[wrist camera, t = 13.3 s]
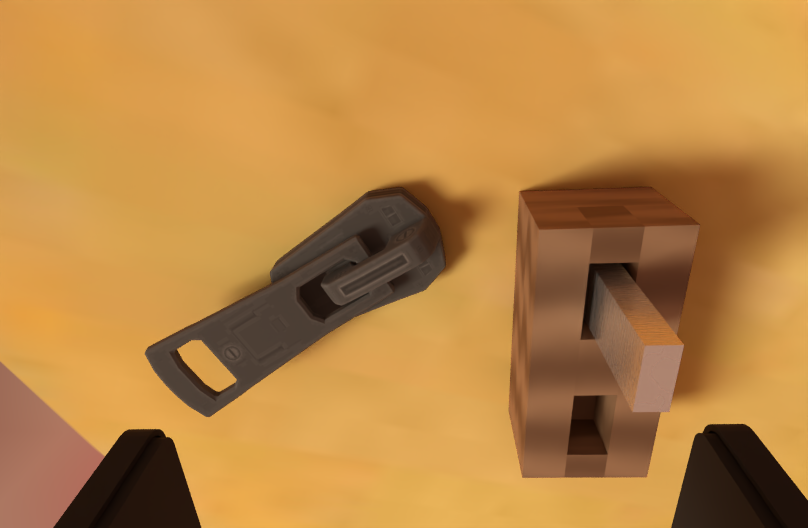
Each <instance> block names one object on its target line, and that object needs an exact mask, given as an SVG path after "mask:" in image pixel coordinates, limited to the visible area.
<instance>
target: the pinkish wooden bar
mask: <svg viewBox="0 0 808 528" xmlns="http://www.w3.org/2000/svg"><path fill="white" fill-rule="evenodd" d="M583 317H584V319H585V321H586V323H587V325H588V327H589V329H590V331H591V333H592V335H593V336H594V338H595V340H596V342H597V344H598V346H599V348H600V350H601V352H602V354H603V356H604V358H605V360H606V362H607V364H608V365H609V367H610V369H611V371H612V373H613V375H614V377H615V379H616V381H617V383H618V385H619V387H620V389H621V391H622V392H623V394H624V396H625V398H626V400H627V402H628V404H629V406H630V408H631V410H632V412H669V410H670V406H671V401H672V397H673V392H674V388H675V384H676V379H677V375H678V370H679V366H680V361H681V357H682V352H683V348H684V344H683V343H682V342H681V340H680V339H679V338H678V336H677V335H676V334H675V333H674V331H673V330H672V329H671V328H670V326H669V325H668V324H667V322H666V321H665V320H664V319H663V317H662V316H661V315H660V313H659V312H658V311H657V310H656V308H655V307H654V306H653V304H652V303H651V302H650V301H649V299H648V298H647V297H646V295H645V294H644V293H643V292H642V290H641V289H640V288H639V286H638V285H637V284H636V283H635V281H634V280H633V279H632V277H631V276H630V275H629V274H628V272H627V271H626V270H625V268H624V267H623V266H622V265H621V263H591V264H589V271H588V279H587V288H586V296H585V305H584V313H583Z"/></svg>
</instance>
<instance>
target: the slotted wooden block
mask: <svg viewBox="0 0 808 528" xmlns="http://www.w3.org/2000/svg"><path fill="white" fill-rule="evenodd" d="M699 229H700V224H698V223H697V222H696V221H695V220H693V219H692V218H691V217H689V216H688V215H687V214H685V213H684V212H683V211H682V210H680V209H679V208H678V207H676V206H675V205H674V204H672V203H671V202H670V201H669V200H667V199H666V198H665V197H663V196H662V195H661V194H659V193H658V192H657V191H655V190H654V189H653V188H652V187H633V188H605V189H577V190H548V191H520V192H519V209H518V230H517V250H516V271H515V292H514V312H513V333H512V354H511V374H510V395H509V414H510V419H511V424H512V429H513V434H514V439H515V444H516V448H517V453H518V458H519V463H520V468H521V473H522V478H560V477H647V474H648V469H649V464H650V460H651V455H652V450H653V446H654V441H655V436H656V431H657V427H658V422H659V417H660V413H661V412H632V410H631V408H630V406H629V404H628V402H627V400H626V398H625V396H624V394H623V392H622V391H621V389H620V387H619V385H618V383H617V381H616V379H615V377H614V375H613V373H612V371H611V369H610V367H609V365H608V364H607V362H606V360H605V358H604V356H603V354H602V352H601V350H600V348H599V346H598V344H597V342H596V340H595V338H594V336H593V335H592V333H591V331H590V329H589V327H588V325H587V323H586V321H585V319H584V317H583V313H584V305H585V296H586V288H587V279H588V271H589V264H591V263H621V265H622V266H623V267H624V268H625V270H626V271H627V272H628V274H629V275H630V276H631V277H632V279H633V280H634V281H635V283H636V284H637V285H638V286H639V288H640V289H641V290H642V292H643V293H644V294H645V295H646V297H647V298H648V299H649V301H650V302H651V303H652V304H653V306H654V307H655V308H656V310H657V311H658V312H659V313H660V315H661V316H662V317H663V319H664V320H665V321H666V322H667V324H668V325H669V326H670V328H671V329H672V330H673V331H674V333H675V334H676V335H677V332H678V328H679V323H680V318H681V314H682V309H683V304H684V299H685V295H686V290H687V285H688V281H689V276H690V271H691V266H692V262H693V257H694V252H695V248H696V243H697V238H698V233H699Z"/></svg>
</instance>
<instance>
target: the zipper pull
mask: <svg viewBox="0 0 808 528" xmlns="http://www.w3.org/2000/svg"><path fill="white" fill-rule="evenodd" d="M445 266H446V262H445V252H444V247H443V242H442V237H441V233H440V228H439V226H438V225H437V223H436V221H435V220H434V218H433V217H432V215H431V213H430V212H429V210H428V209H427V207H426V206H425V205H424V204H422V203H421V202H420V201H419V200H417V199H416V198H415V197H414V196H412V195H411V194H410V193H409V192H408V191H406V190H405V189H404V188H402V187H398V188H390V189H383V190H376V191H368V192H367V193H365V194H364V195H363V196H361V197H360V198H359V199H358V200H356V201H355V202H354V203H353V204H351V205H350V206H349V207H347V208H346V209H345V210H344V211H342V212H341V213H340V214H338V215H337V216H336V217H334V218H333V219H332V220H330V221H329V222H328V223H326V224H325V225H324V226H322V227H321V228H320V229H318V230H317V231H316V232H314V233H313V234H312V235H310V236H309V237H308V238H306V239H305V240H304V241H302V242H301V243H300V244H298V245H297V246H296V247H294V248H293V249H292V250H290V251H289V252H288V253H286V254H285V255H284V256H283V257H281V258H280V259H279V260H277V262H276V263H275V265H274V267H273V268H272V270H271V271H270V276H271V282H272V284H270V285H268V286H266V287H264V288H262V289H260V290H258V291H256V292H254V293H253V294H251V295H249V296H247V297H245V298H243V299H241V300H239V301H237V302H235V303H233V304H231V305H229V306H227V307H225V308H223V309H221V310H220V311H218V312H216V313H214V314H212V315H210V316H208V317H206V318H204V319H202V320H200V321H198V322H196V323H194V324H192V325H190V326H188V327H185V328H184V329H182V330H180V331H178V332H176V333H174V334H172V335H170V336H168V337H166V338H164V339H163V340H161V341H159V342H157V343H155V344H153V345H151V346H149V347H148V348H147V350H146V351H145V355H146V357H147V359H148V361H149V362H150V364H151V366H152V368H153V370H154V371H155V373H156V374H157V375H158V376H159V378H160V379H161V380H162V381H163V382H164V384H165V385H166V386H167V387H168V388H169V389H170V390H171V391H172V392H173V393H174V394H175V395H176V396H177V397H178V398H180V399H181V400H182V401H183V402H184V403H186V404H187V405H188V406H189V407H191V408H192V409H194V410H196V411H197V412H199V413H201V414H202V415H204V416H206V417H210V416H212V415H213V414H215V413H216V412H217V411H219V410H220V409H222V408H223V407H225V406H226V405H227V404H229V403H230V402H232V401H233V400H235V399H236V398H238V397H239V396H240V395H242V394H243V393H244V392H246V391H247V390H248V389H250V388H251V387H252V386H254V385H255V384H257V383H258V382H260V381H261V380H262V379H264V378H265V377H267V376H268V375H269V374H271V373H272V372H274V371H275V370H277V369H278V368H279V367H281V366H282V365H284V364H285V363H286V362H288V361H289V360H291V359H292V358H294V357H295V356H296V355H298V354H299V353H301V352H302V351H304V350H305V349H306V348H308V347H309V346H311V345H312V344H313V343H315V342H316V341H318V340H319V339H321V338H322V337H323V336H325V335H326V334H328V333H329V332H331V331H333V330H334V329H336V328H338V327H339V326H341V325H342V324H344V323H346V322H347V321H349V320H351V319H352V318H354V317H356V316H359V315H361V314H364V313H366V312H369V311H371V310H374V309H376V308H379V307H382V306H384V305H387V304H389V303H392V302H394V301H397V300H400V299H403V298H405V297H408V296H411V295H413V294H416V293H419V292H421V291H424V290H426V289H427V288H428V286H429V285H430V284H431V283H432V282H433V281H434V279H435V278H436V277H437V276H438V275H439V274H440V273H441V271H442V270H443V269H444V268H445ZM191 340H202V341H203V343H204V344H205V345H206V346H207V347H208V348H209V349H210V350H211V351H212V352H213V354H214V355H215V356H216V357H217V358H218V359H219V360H220V361H221V362H222V363H223V365H224V366H225V367H226V368H227V369H228V370H229V371H230V372H231V373H232V374H233V376H234V377H235V378H236V379H237V381H236V383H234V384H232V385H231V386H229V387H227V388H226V389H224V390H222V391H221V392H216V391H215V390H213V389H212V388H210V387H209V386H207V385H206V384H204V382H203V381H202V380H201V379H200V378H199V377H198V376H197V375H196V374H195V373H194V372H193V371H192V370H191V369H190V368H189V367H188V366H187V364H186V363H185V362H184V361H183V360H182V358H181V356H180V354H179V353H178V351H177V349H178V348H179V347H181V346H183V345H184V344H186V343H188V342H189V341H191Z"/></svg>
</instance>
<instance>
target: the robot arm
mask: <svg viewBox="0 0 808 528" xmlns="http://www.w3.org/2000/svg"><path fill="white" fill-rule="evenodd" d="M54 528H201V525H200V522H199V519H198V516H197V513H196V510H195V507H194V503H193V500H192V497H191V494H190V491H189V488H188V485H187V482H186V479H185V476H184V472H183V469H182V466H181V463H180V460H179V457H178V454H177V451H176V448H175V445H174V442H173V440H172V439H171V438H170V437H166V436H165V434H164V432H163V431H162V430H160V429H132V430H127V431H125V432H124V433H123V434H122V435H121V436H120V437H119V438H118V440H117V441H116V443H115V444H114V445H113V447H112V448H111V449H110V451H109V452H108V454H107V455H106V456H105V458H104V459H103V460H102V462H101V463H100V465H99V466H98V467H97V469H96V470H95V471H94V473H93V474H92V476H91V477H90V478H89V480H88V481H87V482H86V484H85V485H84V486H83V488H82V489H81V490H80V492H79V493H78V495H77V496H76V497H75V499H74V500H73V501H72V503H71V504H70V506H69V507H68V508H67V510H66V511H65V512H64V514H63V515H62V516H61V518H60V519H59V521H58V522H57V523H56V525H55V526H54ZM671 528H808V500H807V499H806V498H805V496H804V495H803V494H802V492H801V491H800V490H799V489H798V487H797V486H796V485H795V483H794V482H793V481H792V480H791V478H790V477H789V476H788V475H787V473H786V472H785V471H784V469H783V468H782V467H781V466H780V464H779V463H778V462H777V461H776V459H775V458H774V457H773V455H772V454H771V453H770V452H769V450H768V449H767V448H766V447H765V445H764V444H763V443H762V441H761V440H760V439H759V438H758V436H757V435H756V434H755V432H754V431H753V430H752V429H751V428H750V427H749V426H747V425H745V424H710V425H707V426H706V427H705V429H704V431H703V433H698V434H696V435H695V438H694V441H693V445H692V449H691V453H690V457H689V461H688V464H687V468H686V472H685V476H684V480H683V484H682V488H681V492H680V496H679V500H678V504H677V507H676V511H675V515H674V519H673V523H672V527H671Z"/></svg>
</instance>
